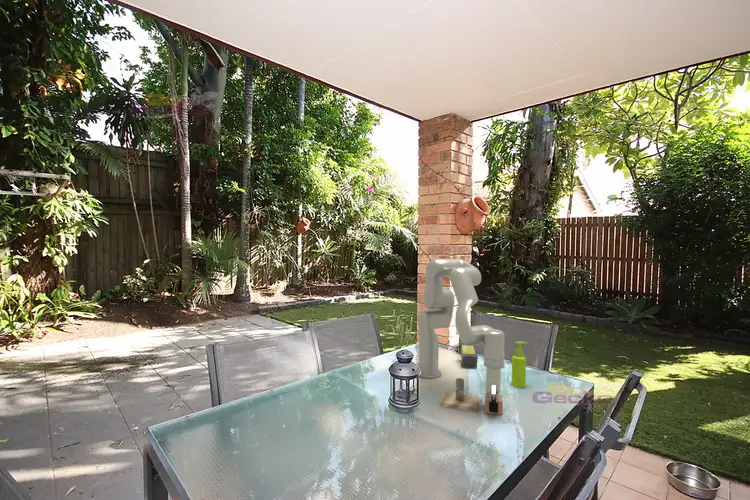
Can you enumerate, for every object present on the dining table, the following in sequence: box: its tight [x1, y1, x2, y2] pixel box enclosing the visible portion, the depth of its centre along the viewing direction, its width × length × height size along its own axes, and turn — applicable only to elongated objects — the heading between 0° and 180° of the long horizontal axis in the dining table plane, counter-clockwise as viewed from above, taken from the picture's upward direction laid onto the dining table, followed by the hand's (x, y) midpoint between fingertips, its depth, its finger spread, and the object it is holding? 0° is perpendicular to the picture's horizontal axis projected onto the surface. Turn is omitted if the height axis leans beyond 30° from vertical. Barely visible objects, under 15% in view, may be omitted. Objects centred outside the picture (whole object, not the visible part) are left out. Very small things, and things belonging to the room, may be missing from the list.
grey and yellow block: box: [455, 337, 479, 368], centre depth 200 cm, size 8×17×30 cm
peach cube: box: [484, 392, 504, 416], centre depth 137 cm, size 6×6×5 cm
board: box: [439, 377, 479, 412], centre depth 144 cm, size 14×11×10 cm
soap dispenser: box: [511, 340, 529, 389], centre depth 162 cm, size 6×7×20 cm
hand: (493, 406), depth 137 cm, fingers open, 8 cm apart
